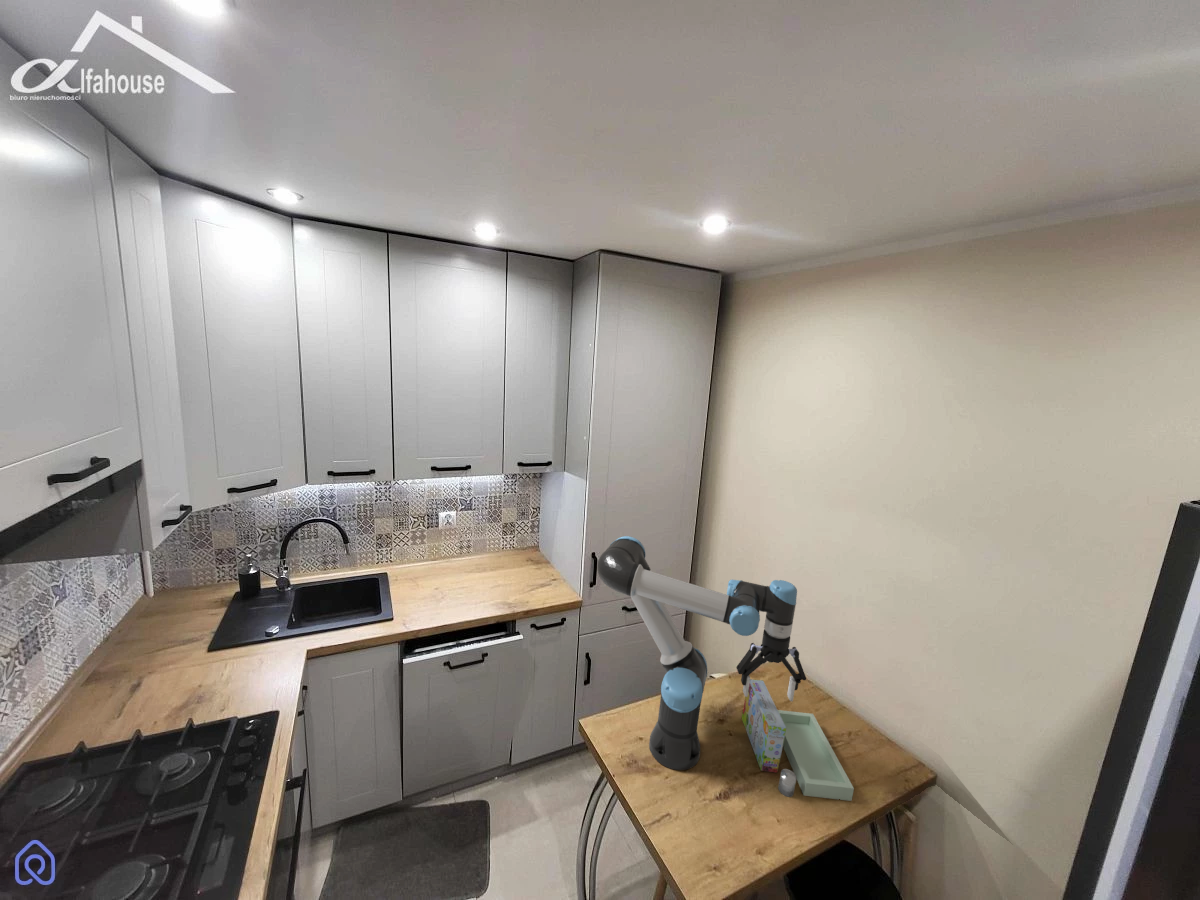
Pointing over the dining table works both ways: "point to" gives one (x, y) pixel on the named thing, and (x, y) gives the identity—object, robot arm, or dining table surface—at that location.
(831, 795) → the tray
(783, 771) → the metal part
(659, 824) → the dining table surface
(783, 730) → the snack box
